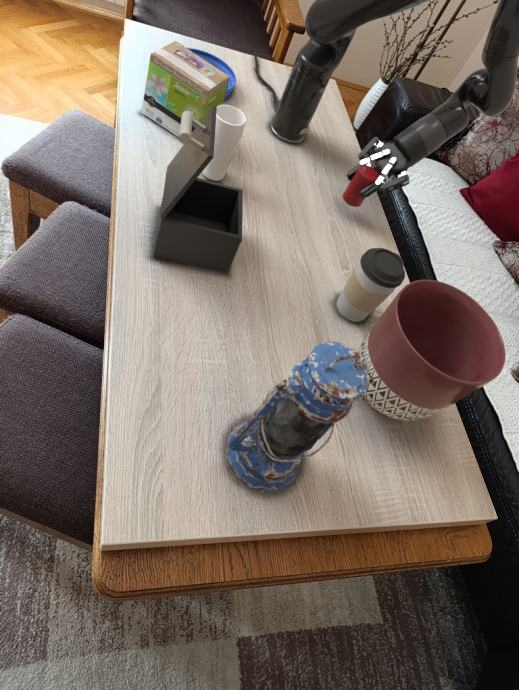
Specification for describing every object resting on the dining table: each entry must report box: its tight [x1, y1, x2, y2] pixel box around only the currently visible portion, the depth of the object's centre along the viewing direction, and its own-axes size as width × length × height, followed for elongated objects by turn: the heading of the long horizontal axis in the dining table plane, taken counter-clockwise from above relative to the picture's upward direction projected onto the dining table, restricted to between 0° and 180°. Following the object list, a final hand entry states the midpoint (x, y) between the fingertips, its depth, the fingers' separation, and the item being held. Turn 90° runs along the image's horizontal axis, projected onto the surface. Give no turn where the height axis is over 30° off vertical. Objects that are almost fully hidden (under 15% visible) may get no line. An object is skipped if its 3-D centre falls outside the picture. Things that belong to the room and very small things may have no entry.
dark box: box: [152, 177, 244, 274], centre depth 96 cm, size 15×14×10 cm
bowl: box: [186, 47, 237, 100], centre depth 131 cm, size 18×18×4 cm
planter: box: [357, 279, 506, 422], centre depth 86 cm, size 20×20×21 cm
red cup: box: [342, 165, 379, 208], centre depth 115 cm, size 5×5×8 cm
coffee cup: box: [336, 247, 406, 323], centre depth 98 cm, size 9×9×15 cm
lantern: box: [225, 340, 374, 493], centre depth 68 cm, size 15×12×30 cm
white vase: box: [201, 104, 247, 182], centre depth 107 cm, size 7×7×15 cm
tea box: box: [141, 40, 230, 138], centre depth 113 cm, size 15×10×15 cm, turn 62°
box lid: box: [159, 105, 217, 219], centre depth 84 cm, size 15×14×5 cm
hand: (354, 186), depth 114 cm, fingers closed on red cup, 5 cm apart
